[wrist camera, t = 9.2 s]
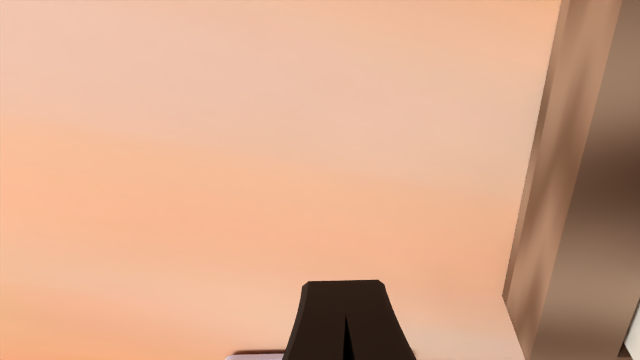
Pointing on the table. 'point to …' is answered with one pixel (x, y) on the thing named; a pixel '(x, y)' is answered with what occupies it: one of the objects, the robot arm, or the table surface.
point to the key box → (582, 192)
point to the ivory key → (634, 334)
